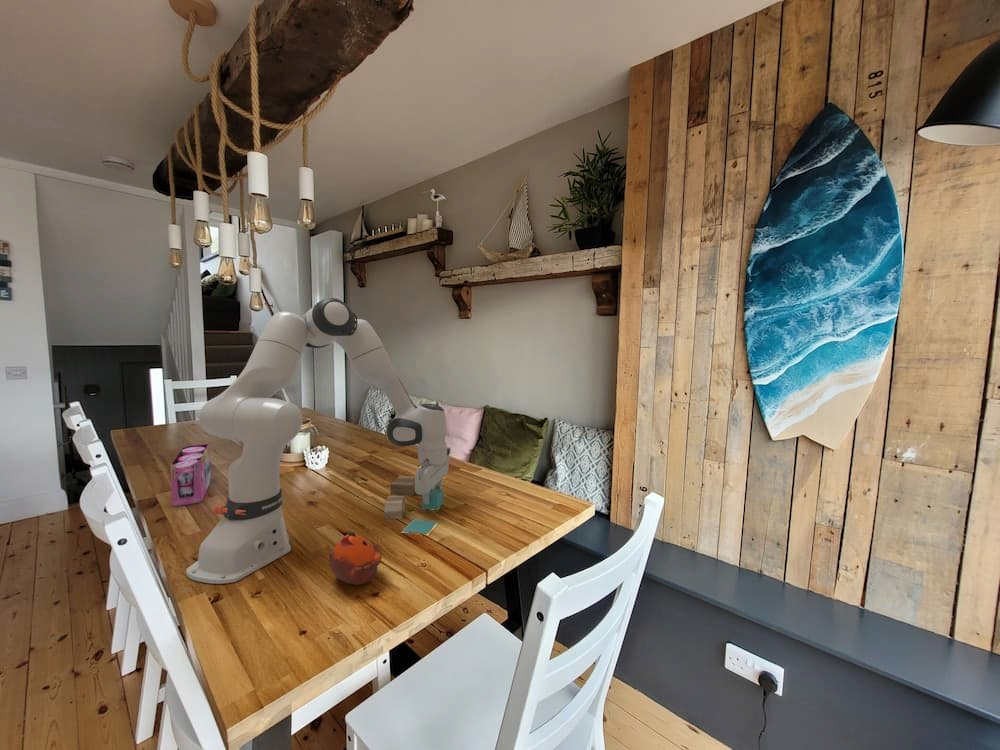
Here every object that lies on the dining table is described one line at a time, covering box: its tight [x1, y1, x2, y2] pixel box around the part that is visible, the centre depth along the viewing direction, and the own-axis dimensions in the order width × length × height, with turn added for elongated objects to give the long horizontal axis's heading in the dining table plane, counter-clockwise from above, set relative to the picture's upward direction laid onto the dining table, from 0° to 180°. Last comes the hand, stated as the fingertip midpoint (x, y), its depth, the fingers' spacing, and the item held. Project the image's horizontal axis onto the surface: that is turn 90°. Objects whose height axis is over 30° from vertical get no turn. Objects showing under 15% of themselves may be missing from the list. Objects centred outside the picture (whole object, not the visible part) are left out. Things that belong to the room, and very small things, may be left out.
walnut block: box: [390, 475, 416, 497], centre depth 143 cm, size 8×8×4 cm
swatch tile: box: [401, 518, 438, 534], centre depth 117 cm, size 8×8×1 cm
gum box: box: [169, 443, 212, 507], centre depth 138 cm, size 24×8×14 cm, turn 29°
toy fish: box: [328, 532, 383, 586], centre depth 92 cm, size 12×10×11 cm
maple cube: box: [384, 495, 406, 519], centre depth 125 cm, size 5×5×5 cm
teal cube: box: [421, 488, 444, 511], centre depth 131 cm, size 5×5×5 cm
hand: (432, 496), depth 131 cm, fingers open, 8 cm apart
